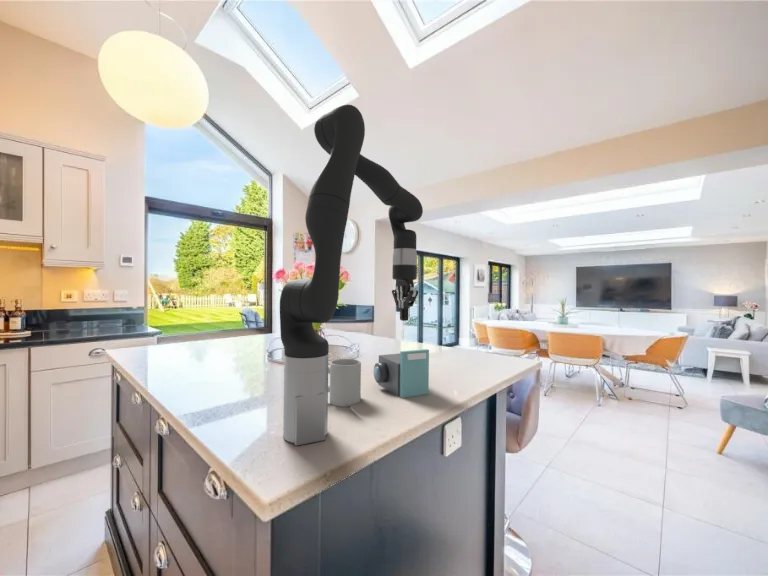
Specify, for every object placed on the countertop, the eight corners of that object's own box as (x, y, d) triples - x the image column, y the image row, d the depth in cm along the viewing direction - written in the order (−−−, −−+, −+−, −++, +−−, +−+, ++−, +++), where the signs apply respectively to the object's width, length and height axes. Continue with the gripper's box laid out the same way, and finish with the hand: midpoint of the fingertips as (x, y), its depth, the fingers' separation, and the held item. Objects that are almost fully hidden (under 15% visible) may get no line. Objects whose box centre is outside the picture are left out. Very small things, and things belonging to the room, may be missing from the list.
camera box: (427, 394, 99) (427, 358, 99) (388, 400, 93) (389, 361, 93) (405, 382, 111) (405, 350, 111) (370, 387, 105) (370, 353, 105)
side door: (429, 394, 97) (430, 350, 97) (403, 398, 93) (403, 352, 93) (426, 392, 98) (426, 349, 98) (399, 396, 94) (400, 351, 94)
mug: (361, 396, 96) (362, 359, 96) (359, 407, 87) (359, 365, 87) (320, 396, 96) (321, 358, 96) (314, 406, 87) (314, 365, 87)
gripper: (426, 263, 97) (426, 322, 97) (404, 266, 109) (404, 318, 109) (404, 262, 94) (404, 323, 94) (384, 265, 106) (383, 318, 106)
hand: (404, 320), depth 102 cm, fingers closed
